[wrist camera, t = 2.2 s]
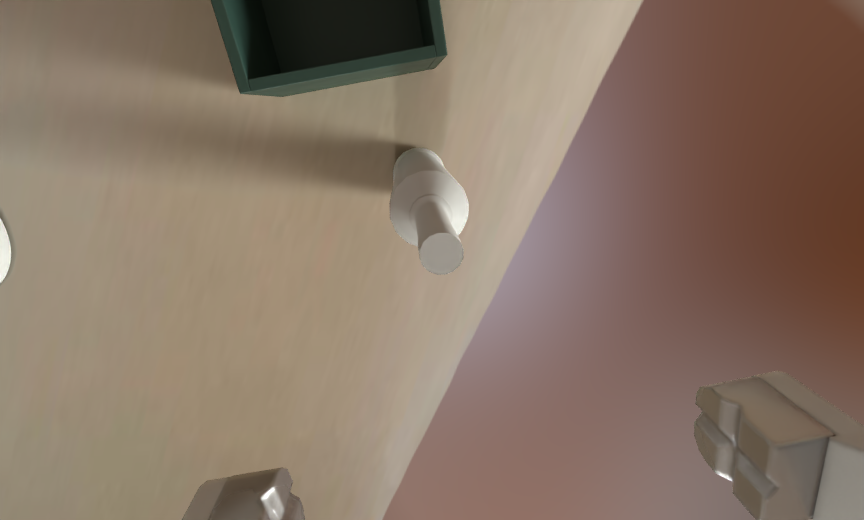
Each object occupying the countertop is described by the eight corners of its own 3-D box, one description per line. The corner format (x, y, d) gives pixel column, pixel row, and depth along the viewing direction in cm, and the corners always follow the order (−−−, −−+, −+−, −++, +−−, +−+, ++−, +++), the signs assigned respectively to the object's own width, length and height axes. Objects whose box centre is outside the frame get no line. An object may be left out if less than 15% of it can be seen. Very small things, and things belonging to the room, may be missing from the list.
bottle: (398, 141, 41) (395, 187, 18) (448, 152, 42) (510, 210, 19) (388, 192, 43) (375, 295, 20) (437, 202, 44) (481, 313, 20)
